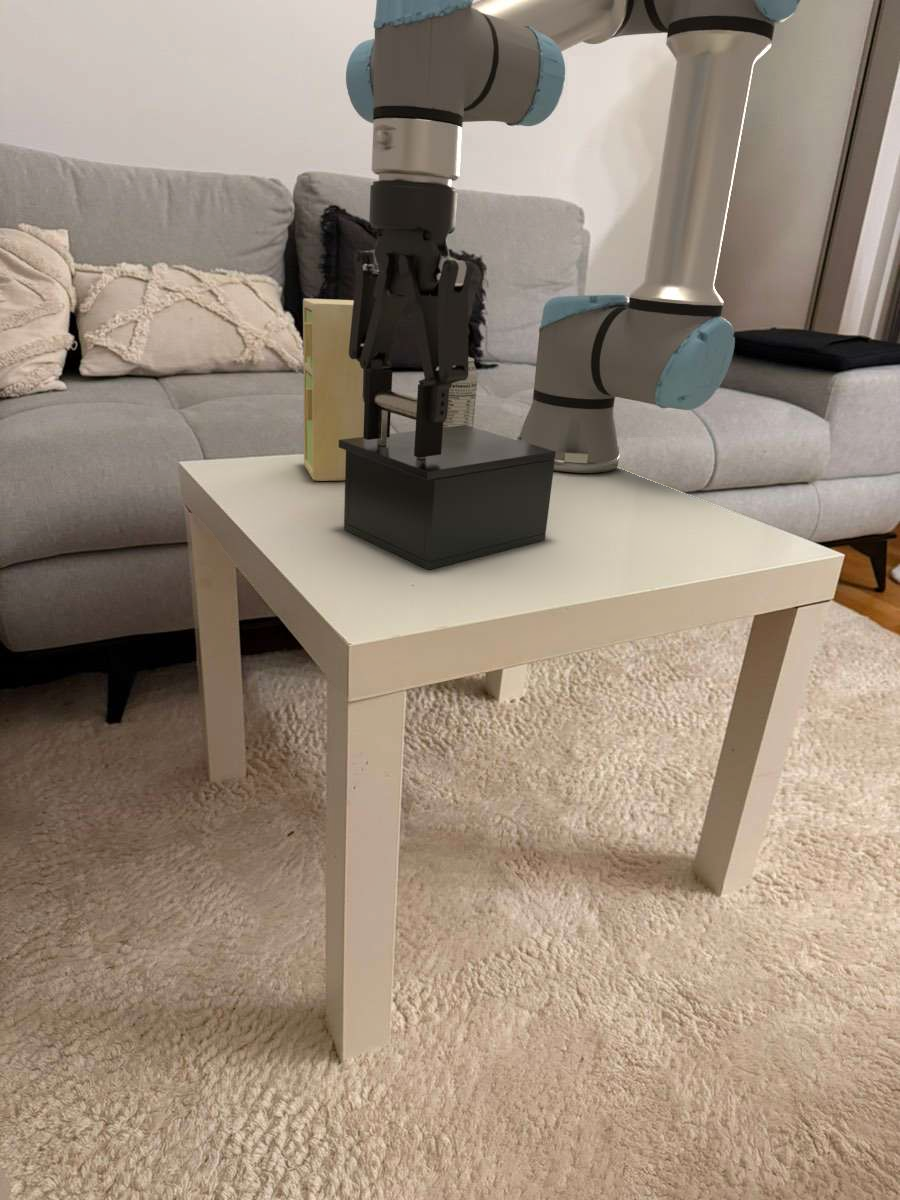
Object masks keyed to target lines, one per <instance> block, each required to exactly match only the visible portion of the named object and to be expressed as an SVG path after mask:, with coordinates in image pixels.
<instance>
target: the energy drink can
mask: <svg viewBox="0 0 900 1200" xmlns="http://www.w3.org/2000/svg"><path fill="white" fill-rule="evenodd" d="M453 367H455V366H453ZM437 370H439V367H437V368H436V371H437ZM478 375H479V374H478V370H477V367H476V365H475V358H474V357H470V356H468V377H467V379H466V380H463V381H458V382H454V383H452V384H451V386H450V388H449V399H448V409H447V410H448V414H447V418H446V421H443V428H445V427H453V426H462V425H467V426H470V427H473V428H474V424H475V412H476V402H477V401H476V400H477V390H478V388H477V387H478V377H479V376H478Z"/></svg>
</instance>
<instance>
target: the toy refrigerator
mask: <svg viewBox="0 0 900 1200" xmlns="http://www.w3.org/2000/svg"><path fill="white" fill-rule="evenodd" d="M353 302H354V299H352V300H351V299H327V298H303V300H302V338H303V341H302V348H303V350H302V351H303V352H302V353H303V354H302V355H303V356H302V357H303V359H302V361H303V363H302V365H303V368H302V369H303V466H304V468H305V469H306V471H307V472H308V474H309V475H310V477H311V479H312V480H313V481H315V482H316V481H317V482H318V481H319V482H320V481H321V482H323V481H324V482H325V481H326V482H327V481H329V482H330V481H345V465H346V450H344V449H342V448H339V440H341V439H350V438H359V437H363V434H364V404H365V402H364V400H363V369H362V368H361V366H360V362H359V361H357V360H356V359H351V358H350V356H349V344H350V333H351V323H352V312H353ZM361 346H364V344H361Z"/></svg>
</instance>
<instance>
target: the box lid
mask: <svg viewBox="0 0 900 1200" xmlns="http://www.w3.org/2000/svg"><path fill="white" fill-rule="evenodd" d="M372 400H373V404H374V406H375V407H376V408H378V409H379V410H378V435H377V439H371V440H367V439H364V438H363V437H359V438H350V439H341V440H339V448H342V449H344V450H347V451H350V452H352V453H355V454H358V455H361V456H363V457H366V458H369V459H371V460H374V461H377V462H380V463H382V464H385V465H388V466H390V467H393V468H396V469H399V470H401V471H404V472H407V473H409V474H412V475H415V476H418V477H420V478H423V479H426V480H431V479H437V478H443V477H449V476H455V475H461V474H467V473H473V472H479V471H485V470H491V469H497V468H503V467H509V466H515V465H521V464H527V463H533V462H539V461H545V460H551V459H555V454H556V451H553V450H549V449H546V448H542V447H539V446H535V445H532V444H529V443H525V442H522V441H518V440H517V439H514V438H511V437H508V436H504V435H500V434H497V433H494V432H492V431H491V432H490V431H488V430H484V429H480V428H477V427H474V426H473V427H470V426H467V425H462V426H453V427H445V428H443V434H442V449H441V455H434V456H427V457H420V458H419V457H416V456H414V448H415V430H412V431H403V432H394V433H390V437H388V438H387V420H388V412H391V414H394V415H398V416H401V417H404V418H406V419H407V418H408V419H410V420H414V421H416V412H417V396H412V395H409V394H405V393H402V392H398V391H395V390H392V391H391V390H388V389H384V388H379V389H377V390H376V391H375V393H374V395H373V399H372Z"/></svg>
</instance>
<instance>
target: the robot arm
mask: <svg viewBox="0 0 900 1200" xmlns="http://www.w3.org/2000/svg"><path fill="white" fill-rule="evenodd" d="M800 3H801V0H477V1H475V2H474V0H376V3H375V14H374V21H373V28H374V38H371V39H367V40H364V41H361V43H359V44H357V46H355V47H354V49H353V51H352V52H351V53H350V56H349V57H348V61H347V65H346V68H345V69H346V70H345V85H346V89H347V95H348V97H349V100H350V103H351V105H352V107H353V109H354V110H355V112H356V113H357V114H358V115H359V116H360V117H361V119H363V120H364V121H366V122H368V123H370V124H373V125H372V145H371V146H372V148H371V149H372V150H371V151H372V152H371V171H372V172H373V174H375V175H378V180H374V181H373V182H372V184H371V185H370V187H369V189H370V190H369V191H370V192H369V216H368V217H369V224H370V226H371V227H372V228H374V229H377V231H378V235H377V241H376V243H375V246H374V249H370V250H355V251H354V253H353V254H354V255H353V264H354V273H355V281H354V282H355V283H354V292H353V300H354V302H353V312H352V323H351V333H350V344H349V356H350V358H351V359H356V360H357V361H359V362H360V366H361V368H362V369H363V400H364V402H365V404H364V434H363V438H364V439H367V440H371V439H377V435H378V410H379V409H378V408H376V407H375V406H374V404H373V400H372V399H373V395H374V393H375V391H376V390H377V389H379V388H384V389H388V390H391V391H393V390H392V389H393V370H391V369H390V368H392V367H393V365H394V364H393V363H391V361H389V358H390V355H391V351H392V347H393V344H394V341H395V337H396V334H397V331H398V327H399V323H400V320H401V316H402V314H403V310H404V306H405V305H406V304H407V305H408V307H409V308H410V309H411V310H412V312H413V318H414V323H415V331H416V336H417V341H418V348H419V353H420V359H421V365H422V371H423V376H424V378H423V379H420V380H418V383H419V384H417V396H416V397H417V412H416V420H415V429H414V431H415V448H414V456H416V457H419V458H420V457H427V456H434V455H441V449H442V434H443V421H446V418H447V414H448V410H447V409H448V399H449V388H450V386H451V384H452V383H454V382H458V381H463V380H466V379H467V377H468V357H469V288H470V285H471V281H472V276H473V272H474V264H473V263H472V261H471V260H458V259H456V258H455V257H452V256H450V251H449V246H448V236H449V235H451V234H452V233H454V232H455V231H456V226H457V225H456V223H457V210H458V209H457V208H458V207H457V206H458V196H459V195H458V193H459V192H457V191H456V190H457V189H456V188H455V187H452V184H453V183H452V182H455V181H457V180H459V178H460V171H461V152H462V136H463V135H462V134H463V125H464V123H470V122H471V123H472V122H473V123H474V122H500V123H504V124H506V125H507V126H509V127H514V126H517V127H518V126H523V127H533V126H538V125H539V124H541V123H543V122H544V121H546V120H547V119H548V118H549V117H550V116H551V115H552V113H553V112H554V111H555V110H556V108H557V106H558V104H559V103H560V100H561V98H562V95H563V92H564V88H565V81H566V64H565V59H564V55H563V52H564V51H566V50H568V49H570V48H572V47H575V46H576V45H578V44H581V43H585V44H588V45H599V44H602V43H605V42H607V41H608V40H611V39H613V38H619V37H623V36H624V37H625V36H636V35H637V36H638V35H649V34H651V35H653V34H666V40H665V41H666V42H665V45H666V47H667V48H668V49H669V51H670V52H671V54H672V55H673V57H674V58H675V61H676V64H675V70H674V77H673V84H672V90H671V97H670V98H671V99H670V104H669V111H668V112H669V113H668V118H667V125H666V131H665V138H664V144H663V152H662V159H661V165H660V171H659V172H660V173H659V178H658V186H657V192H656V197H655V198H656V199H655V206H654V212H653V218H652V225H651V233H650V240H649V246H648V253H647V259H646V266H645V272H644V280H643V281H642V283H641V284H640V285H639V286H638V287H636V288H635V289H634V290H633V291H632V292H631V293H630V295H629V296H628V295H625V294H596V295H595V294H594V295H590V294H589V295H567V296H566V295H565V296H554V297H552V298H550V299H549V300H547V302H546V303H545V304H544V305H543V309H542V316H541V320H540V326H539V328H538V334H539V335H538V342H537V353H536V362H535V363H536V364H535V373H534V374H535V375H534V384H533V394H532V402H531V406H530V409H529V411H528V413H527V415H526V418H525V420H524V423H523V425H522V428H521V430H520V433H519V435H518V436H517V438H516V440H518V441H522V442H525V443H529V444H532V445H535V446H539V447H542V448H546V449H549V450H553V451H556V454H555V459H554V460H555V462H554V470H553V471H555V472H564V473H578V474H594V473H595V474H596V473H605V472H610V471H614V470H615V469H616V468H617V467H618V466H619V460H620V447H619V445H618V437H617V430H616V428H617V427H616V422H615V415H614V407H615V400H616V398H620V399H623V400H624V399H626V400H630V401H635V402H639V403H643V404H650V405H654V406H656V407H659V408H660V409H675V410H682V411H690V410H694V409H697V408H699V407H701V406H703V405H704V404H706V403H707V402H708V401H709V400H710V399H711V398H712V397H713V395H714V394H715V393H716V391H717V390H718V389H719V388H720V386H721V385H722V384H723V381H724V380H725V378H726V375H727V373H728V371H729V368H730V365H731V363H732V361H733V360H732V359H733V356H734V351H735V344H736V338H735V336H734V335H735V330H734V327H733V325H732V323H731V322H729V321H728V320H727V319H726V318H724V317H722V313H723V308H724V300H723V299H722V297H721V296H720V295H719V293H718V292H717V290H716V287H715V282H716V277H717V270H718V266H719V261H720V260H719V259H720V255H721V250H722V249H721V248H722V242H723V239H724V232H725V226H726V221H727V216H728V215H727V214H728V209H729V204H730V199H731V198H730V197H731V195H732V194H731V192H732V188H733V183H734V176H735V171H736V165H737V160H738V155H739V148H740V143H741V138H742V137H741V136H742V132H743V125H744V122H745V121H744V120H745V115H746V109H747V105H748V99H749V92H750V88H751V81H752V77H753V70H754V65H755V64H756V62H757V61H758V60H759V59H760V58H761V57H762V56H763V55H764V54H765V53H766V52H767V51H768V50H770V48H772V47H771V46H772V42H773V37H774V32H775V27H776V24H781V23H784V22H785V21H786V20H788V19H789V18H791V17H792V16H793V15H794V14H795V13H796V11H797V8H798V5H799V4H800ZM361 344H364V346H361ZM453 366H455V367H453ZM437 367H439V370H437V371H436V368H437ZM391 414H392V413H391V412H388V420H387V438H388V437H390V434H391Z"/></svg>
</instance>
